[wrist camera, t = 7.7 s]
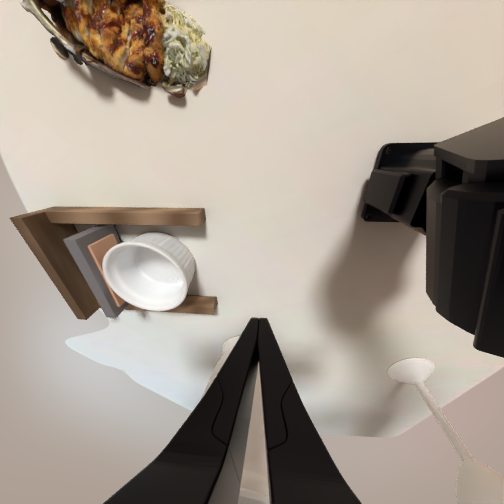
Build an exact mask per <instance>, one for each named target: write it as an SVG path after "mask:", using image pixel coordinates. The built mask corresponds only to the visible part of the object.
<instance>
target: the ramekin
mask: <svg viewBox="0 0 504 504" xmlns="http://www.w3.org/2000/svg"><path fill="white" fill-rule="evenodd" d="M102 268H103V273H104V277H105V279H106V281H107V283H108V284H109V286H110V287H111V288H112V290H113V291H114V292H115V293H116V294H117V295H118V296H120V297H121V298H122V299H124V300H125V301H126V302H128V303H130V304H132V305H134V306H136V307H139V308H142V309H145V310H150V311H166V310H170V309H173V308H175V307H177V306H179V305H180V304H181V303H182V302H183V301H184V299H185V297H186V295H187V291H188V287H189V285H190V283H191V281H192V278H193V276H194V272H195V262H194V258H193V255H192V254H191V252H190V250H189V249H188V248H187V247H186V246H185V245H184V244H183V243H182V242H181V241H180V240H178V239H176V238H175V237H173V236H171V235H168V234H165V233H160V232H149V233H145V234H142V235H140V236H138V237H136V238H134V239H132V240H130V241H126V242H123V243H120V244H118V245H116V246H114V247H112V248H111V249H110V250H109V251H108V252H107V253H106V254H105V256H104V258H103V264H102Z"/></svg>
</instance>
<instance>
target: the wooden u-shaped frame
mask: <svg viewBox="0 0 504 504" xmlns="http://www.w3.org/2000/svg"><path fill="white" fill-rule="evenodd" d="M10 219H11V221H12V222H13V224H14V225H15V227H16V228H17V230H18V231H19V233H20V234H21V236H22V237H23V239H24V240H25V241H26V243H27V244H28V246H29V247H30V249H31V250H32V252H33V253H34V255H35V256H36V258H37V259H38V261H39V262H40V264H41V265H42V267H43V268H44V270H45V271H46V272H47V274H48V276H49V277H50V278H51V280H52V281H53V283H54V284H55V286H56V287H57V289H58V290H59V292H60V293H61V295H62V296H63V298H64V299H65V301H66V302H67V303H68V305H69V307H70V308H71V309H72V311H73V312H74V314H75V315H76V317H77V318H78V319H85V320H87V319H88V318H89V317H90V316H91V315H92V314H93V313H94V312H95V311H97V310H98V309H99V308H101V306H100V304H99V303H98V301H97V299H96V297H95V296H94V294H93V292H92V290H91V289H90V287H89V285H88V283H87V281H86V280H85V278H84V276H83V274H82V273H81V271H80V269H79V267H78V265H77V264H76V262H75V260H74V258H73V257H72V255H71V253H70V251H69V249H68V248H67V246H66V244H65V242H64V241H63V239H66V238H68V237H70V236H73V235H75V234H77V231H76V229H75V227H74V225H73V224H123V225H176V226H200V225H201V224H202V223H203V222H204V221H205V220H206V217H205V210H204V208H132V207H51V208H47V209H43V210H39V211H35V212H31V213H27V214H23V215H19V216H15V217H11V218H10ZM216 306H217V297H208V296H188V295H186V297H185V299H184V301H183V302H182V303H181V304H180V305H179V306H177V307H175V308H173V309H170V310H166V311H160V312H177V313H194V314H211V315H214V312H215V309H216ZM125 309H126V310H143V311H150V310H145V309H142V308H139V307H136V306H134V305H132V304H130V303H129V305H128V306H127V307H126V308H125Z"/></svg>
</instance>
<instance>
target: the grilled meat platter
mask: <svg viewBox="0 0 504 504" xmlns="http://www.w3.org/2000/svg"><path fill="white" fill-rule="evenodd" d="M20 4H21V5H22V6H23V8H24V9H25V10H26V11H28V12H30V13H32V14H33V15H34V16H35V17H36V18H37V19H38V20H39V21H40V23H41V24H42V25H43V26H44V27H45V28H46V30H48V31H49V32H50V33H51V34H52V35H54V36H55V37H52V38H51V39H50V42H51V45H52V47H53V49H54V51H55V52H56V53H57V54H58V55H59V56H60V57H62V58H64V59H68V57H69V55H68V52H69V53H70V54H71V55H73V57H74V60H75V61H76V62H77V63H78V64H80V65H82V64H83V62H84V63H85V64H86V63H87V64H88V65H91V66H94V67H95V68H97V69H100V70H102V71H104V72H105V73H106V74H108V75H110V76H112V77H114V78H120V79H122V80H125V81H128V82H132V83H134V84H137V85H139V86H140V87H141V88H144V89H146V88H149V87H151V86H156V85H157V83H158V82H161V83H162V85H163V88H164V89H165V90H166V91H167V92H169V93H171V94H173V95H174V96H176V97H183V96H184V95H185V94H186V91H187V90H188V89H190V90H193V91H198V90H200V89H201V88H202V87H203V86H205V85H206V83H207V69H208V60H209V54H210V50H211V46H209V45H208V44H207V43H206V41H204V40H202V39H201V36H202V33H203V34H205V32H204V31H203V29H202V28H201V27H200V25H199V24H198V23H197V22H196V21H195V20H194V19H193V18H192V17H191V16H190V15H188V14H187V13H186V12H183V11H181V10H179V9H178V8H176V7H174V6H172V5H171V4H169V3H167V2H165V0H23V2H20ZM41 8H43V9H44V10H47V11H48V12H49V13H50V14H51V18H52V20H53V22H55V23H56V24H57V25H58V27H59V29H60V31H61V32H62V33H63V34H62V33H61V32H60V31H59V30H58V29H57V28H56V27H55V26H54V25H53V23H52V22H51V21H50V19H49V18H48V17H47V16H46V15H45V14H44V13H43V11H42V10H41ZM60 42H61V43H62V44H63V45H64V46H63V45H62V44H61V43H60ZM81 61H83V62H81ZM87 64H86V65H87ZM149 79H151V82H150V80H149ZM168 81H169V82H168ZM176 82H177V83H178V85H175V83H176Z"/></svg>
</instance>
